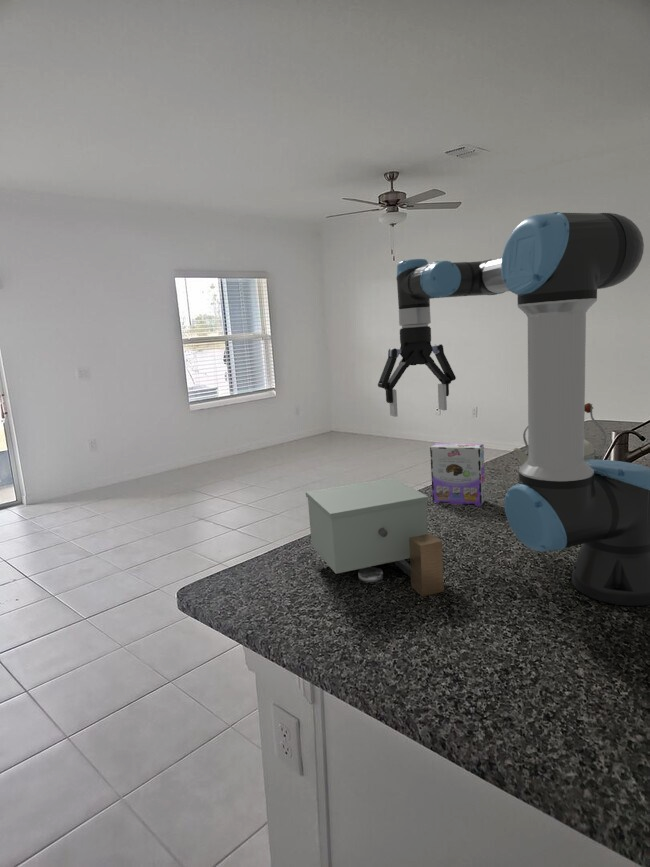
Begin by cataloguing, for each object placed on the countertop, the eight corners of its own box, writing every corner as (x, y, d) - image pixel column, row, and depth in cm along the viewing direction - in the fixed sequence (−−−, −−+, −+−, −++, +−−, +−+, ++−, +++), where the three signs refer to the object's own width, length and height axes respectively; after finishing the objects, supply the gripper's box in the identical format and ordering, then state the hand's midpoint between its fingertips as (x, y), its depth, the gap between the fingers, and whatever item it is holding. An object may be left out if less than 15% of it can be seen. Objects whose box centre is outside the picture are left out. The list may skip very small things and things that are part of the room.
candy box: (486, 500, 154) (484, 443, 151) (481, 507, 149) (480, 447, 146) (437, 497, 161) (435, 441, 158) (431, 503, 156) (429, 446, 153)
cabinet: (433, 573, 112) (430, 497, 109) (337, 595, 106) (331, 515, 103) (396, 544, 128) (392, 477, 125) (311, 561, 122) (305, 491, 119)
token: (387, 580, 111) (386, 574, 111) (364, 585, 110) (363, 579, 109) (377, 570, 116) (376, 565, 116) (354, 575, 114) (354, 570, 114)
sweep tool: (443, 591, 104) (442, 541, 102) (422, 596, 103) (420, 545, 101) (407, 561, 118) (405, 517, 117) (388, 565, 117) (385, 520, 115)
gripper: (452, 323, 141) (454, 405, 145) (361, 330, 134) (366, 416, 138) (468, 322, 134) (470, 408, 138) (373, 329, 127) (378, 420, 131)
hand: (418, 412), depth 138 cm, fingers open, 13 cm apart
